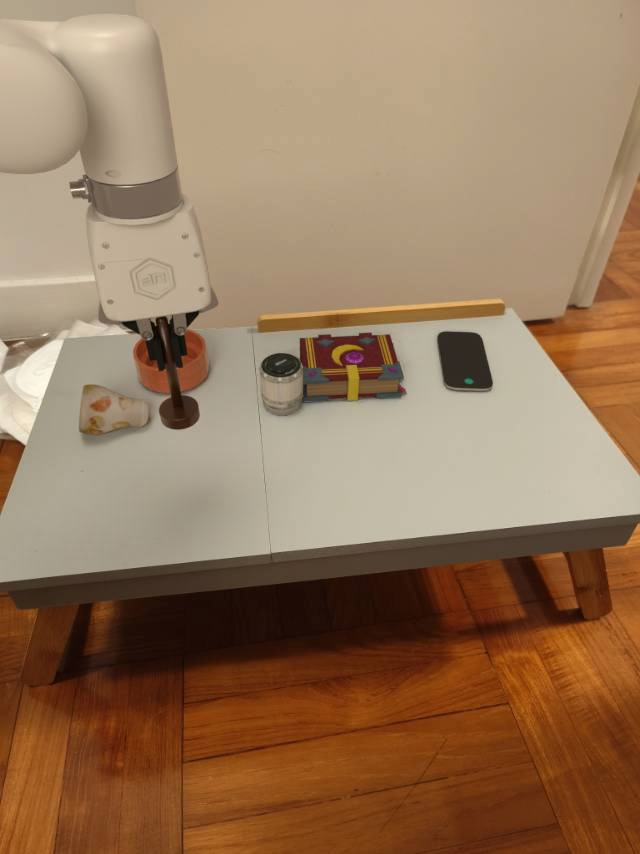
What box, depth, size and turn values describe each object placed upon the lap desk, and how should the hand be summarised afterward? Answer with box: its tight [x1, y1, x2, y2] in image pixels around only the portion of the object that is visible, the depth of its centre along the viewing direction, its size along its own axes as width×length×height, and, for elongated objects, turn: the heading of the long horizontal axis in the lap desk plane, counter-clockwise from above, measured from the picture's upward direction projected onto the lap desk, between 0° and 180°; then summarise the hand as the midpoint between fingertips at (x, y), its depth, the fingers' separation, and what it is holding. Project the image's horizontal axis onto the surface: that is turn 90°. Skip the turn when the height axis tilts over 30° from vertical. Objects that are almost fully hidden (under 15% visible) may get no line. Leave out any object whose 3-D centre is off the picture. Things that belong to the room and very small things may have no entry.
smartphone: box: [436, 330, 494, 392], centre depth 101 cm, size 8×1×15 cm
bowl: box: [132, 328, 210, 394], centre depth 96 cm, size 11×11×5 cm
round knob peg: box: [155, 316, 201, 431], centre depth 66 cm, size 4×4×14 cm
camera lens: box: [258, 352, 303, 416], centre depth 91 cm, size 6×6×8 cm
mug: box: [78, 383, 150, 436], centre depth 87 cm, size 8×10×10 cm
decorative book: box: [299, 332, 408, 403], centre depth 96 cm, size 11×16×5 cm
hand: (169, 361), depth 65 cm, fingers closed on round knob peg, 1 cm apart
